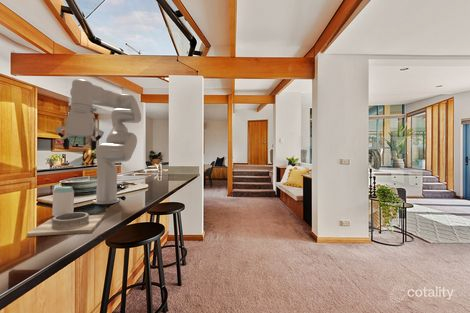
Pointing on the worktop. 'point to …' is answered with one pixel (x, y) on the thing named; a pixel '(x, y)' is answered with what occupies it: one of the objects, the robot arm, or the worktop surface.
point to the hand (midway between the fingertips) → (80, 149)
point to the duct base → (68, 224)
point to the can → (63, 200)
